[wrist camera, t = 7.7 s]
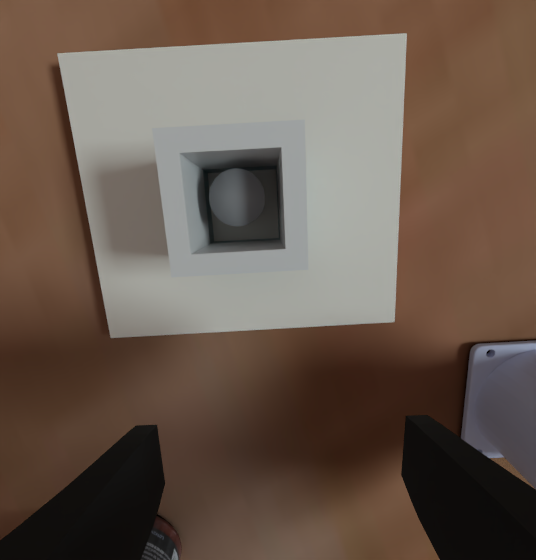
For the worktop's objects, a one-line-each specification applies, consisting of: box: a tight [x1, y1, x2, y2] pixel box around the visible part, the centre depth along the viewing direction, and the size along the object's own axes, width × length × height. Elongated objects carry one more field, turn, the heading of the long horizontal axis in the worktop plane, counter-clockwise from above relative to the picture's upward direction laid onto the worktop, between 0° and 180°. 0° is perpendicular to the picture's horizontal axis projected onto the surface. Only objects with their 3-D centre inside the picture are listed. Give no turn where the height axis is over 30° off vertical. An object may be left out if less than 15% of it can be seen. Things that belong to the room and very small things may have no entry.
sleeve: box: [152, 120, 308, 277], centre depth 13 cm, size 5×5×5 cm
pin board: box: [57, 33, 407, 338], centre depth 14 cm, size 16×14×4 cm
